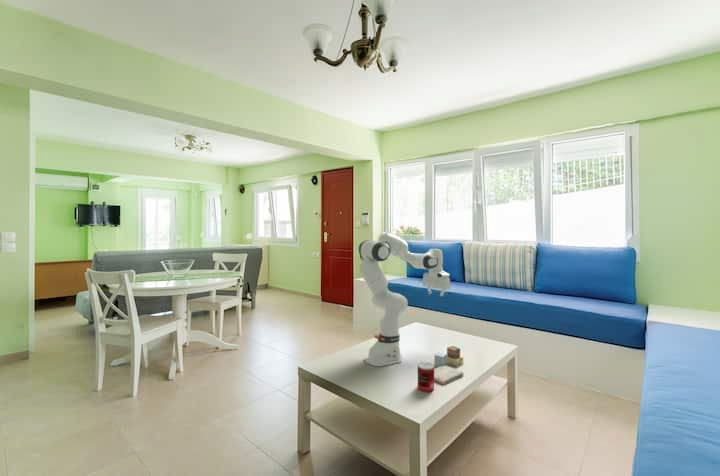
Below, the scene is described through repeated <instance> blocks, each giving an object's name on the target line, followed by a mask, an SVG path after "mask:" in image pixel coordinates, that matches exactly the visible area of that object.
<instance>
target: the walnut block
mask: <svg viewBox="0 0 720 476" xmlns="http://www.w3.org/2000/svg"><path fill="white" fill-rule="evenodd" d="M446 354H447V356H448V357H450V358H452V359H456V358H460V356H461V348H460V347H457V346H455V345H452V346H448V347H447V348H446Z"/></svg>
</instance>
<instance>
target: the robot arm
mask: <svg viewBox="0 0 720 476" xmlns="http://www.w3.org/2000/svg"><path fill="white" fill-rule="evenodd" d="M358 254H359V258H360V260H361V262H360V264H359V268H358V269H359V271H360V273H361V276H362V277H363V279H364V281H365V283H366V284H367V286H368V288H369V289H370V291H371V294H372V299H371V300H372V301H371V302H372V303H373V305H375V307H377V308H379V309H382V310H385V312H384V313H385V314H384V316H383V317H382V318H380V321H379V334H378V335H377V334H374V339H376V340H377V341H376V342H375V343H374V344H373V345H372V346H370V348H369V349H368V356H365V357H364V361H365V362H366V363H367V364H369V365H372V366H374V367H378V368H379V367H383V366H389V365H393V364H394V365H395V364H400V363H401V362H402V353H401V348H400V331H399V330H400V327H399V326H400V319H401V316H402V314H403V313H404V312H405V311H406V310H407V308H408V305H409V304H408V299H407V298H406V297H405V296H404V295H402V294H401V293H397V292H394V291H393V292H392V291H391V290H389V288H388V285H389V280H388V278H387V277H386V275H385V274H384V273H383V271H382V269H381V268H380V265H379V262H384V261H386V260H388V258H389V257H390V255H392V256H395V257H398V258H399V259H401V260H403V261H405V262H406V263H407V264H408V265H409V267H411V268H412V269H421V270H428V272H424V273H423V277H422V286H423V287H426V289H427V292H428V295H432V294H433V291H432V290H431V289H437V290H440V291H441V292H440V293H439V296H440V297H444V294H445V292H446V291H448V290H450V289H451V279H450V273H448V272H446V271H445V270H443V269H444V268H443V263H444V260H443V258H444V256H443V251H442V250H441V249H440V248H434V247H433V248H430V249H429V250H428V251H427V252H425V253H418V252H410V251H409V244H408V243H407V241H406V240H404V239H403V238H401V237H400V236H397V235H395V234H392V233H390V232H384V233H382V234H381V235H380V236H379V237H378V240H367V239H366V240H364V241H362V242H360V244H359V245H358Z"/></svg>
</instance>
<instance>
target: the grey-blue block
mask: <svg viewBox="0 0 720 476" xmlns="http://www.w3.org/2000/svg"><path fill="white" fill-rule="evenodd" d="M445 365H446V366H448V364H447V353H444V352H443V353H442V352H439V351H438V352H436V353H434V367H442V366H445Z"/></svg>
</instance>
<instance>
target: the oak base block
mask: <svg viewBox="0 0 720 476" xmlns="http://www.w3.org/2000/svg"><path fill="white" fill-rule="evenodd" d="M462 363H463V364H464V356H462V355H460V358H456V359H452V358H450V357H448V356H447V365H448V366H449V365H450V366H452V367H456V368H459V367H460V366H462V365H463V364H462ZM459 365H460V366H459Z"/></svg>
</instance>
